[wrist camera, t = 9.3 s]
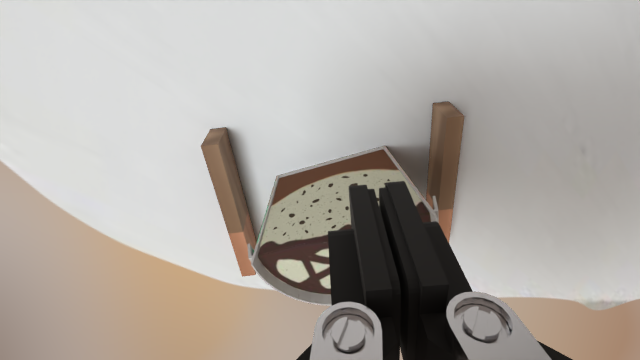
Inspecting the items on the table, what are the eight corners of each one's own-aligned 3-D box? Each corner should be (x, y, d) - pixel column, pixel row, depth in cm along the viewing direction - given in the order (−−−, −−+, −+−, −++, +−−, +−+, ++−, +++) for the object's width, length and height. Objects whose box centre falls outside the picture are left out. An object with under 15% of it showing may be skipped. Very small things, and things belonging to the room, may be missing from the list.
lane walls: (448, 101, 26) (464, 115, 24) (436, 232, 33) (447, 254, 31) (210, 129, 27) (200, 146, 24) (246, 252, 33) (242, 276, 31)
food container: (284, 233, 32) (277, 327, 24) (259, 180, 29) (242, 267, 21) (413, 199, 31) (455, 287, 23) (402, 140, 28) (447, 215, 19)
